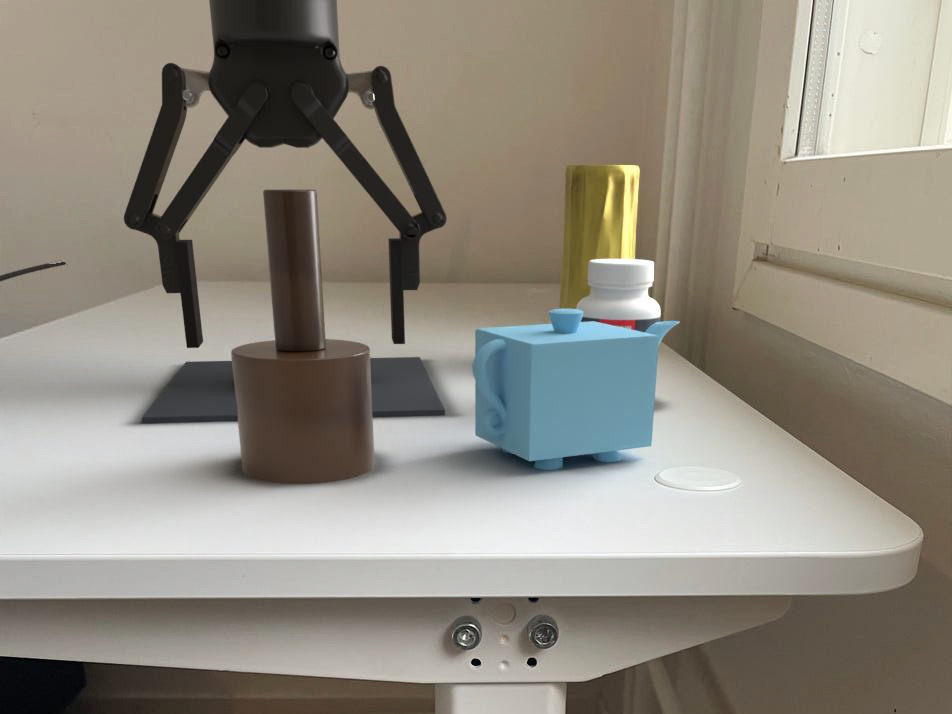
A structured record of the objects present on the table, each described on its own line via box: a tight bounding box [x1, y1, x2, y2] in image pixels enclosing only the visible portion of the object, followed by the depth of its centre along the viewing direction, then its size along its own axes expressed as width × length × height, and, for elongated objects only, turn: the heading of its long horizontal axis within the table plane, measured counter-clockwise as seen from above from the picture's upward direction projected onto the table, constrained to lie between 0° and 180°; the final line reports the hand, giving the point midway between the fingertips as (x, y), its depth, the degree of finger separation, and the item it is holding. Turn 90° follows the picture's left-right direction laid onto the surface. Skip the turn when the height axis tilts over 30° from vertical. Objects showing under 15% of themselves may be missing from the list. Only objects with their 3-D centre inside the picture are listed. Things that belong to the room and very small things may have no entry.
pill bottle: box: [576, 258, 661, 333], centre depth 64 cm, size 5×5×9 cm
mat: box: [141, 356, 446, 425], centre depth 70 cm, size 20×18×1 cm
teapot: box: [472, 308, 681, 471], centre depth 53 cm, size 12×6×8 cm, turn 116°
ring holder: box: [230, 188, 376, 485], centre depth 49 cm, size 7×7×13 cm
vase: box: [558, 164, 641, 309], centre depth 75 cm, size 6×6×14 cm
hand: (297, 343), depth 69 cm, fingers open, 13 cm apart
